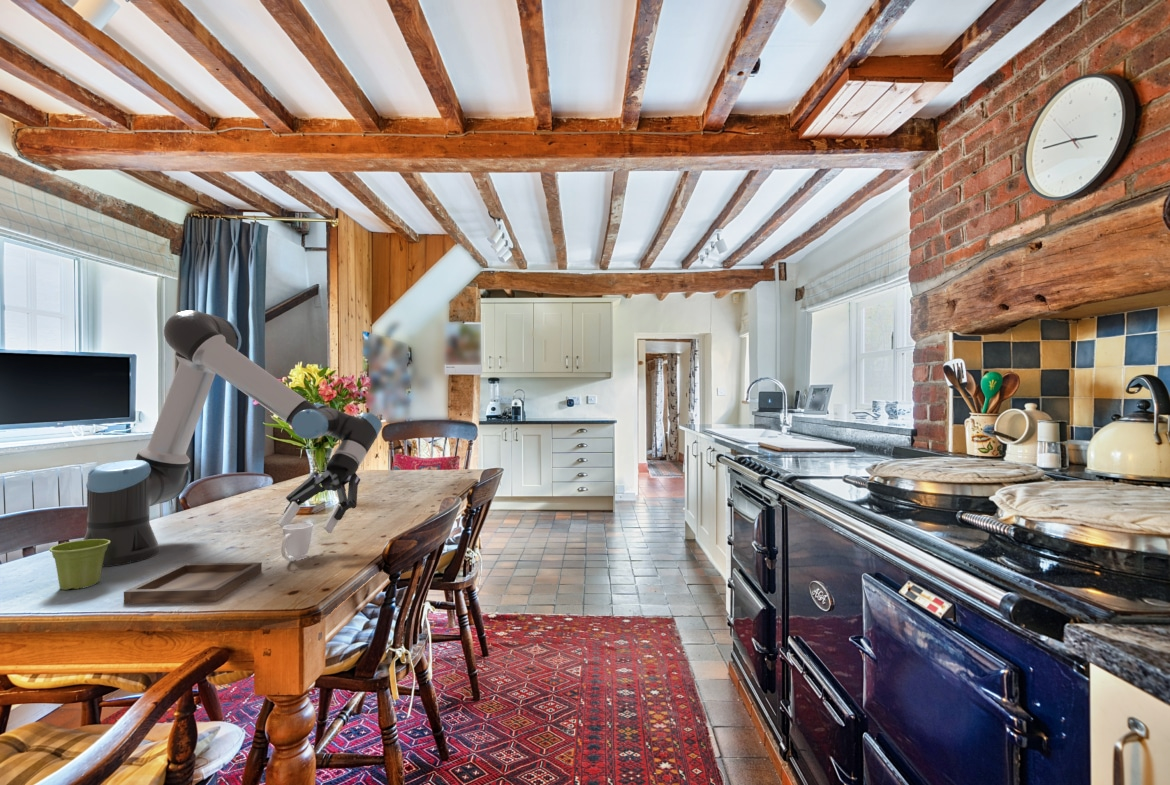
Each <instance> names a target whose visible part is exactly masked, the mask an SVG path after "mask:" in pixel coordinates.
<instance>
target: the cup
mask: <svg viewBox="0 0 1170 785" xmlns="http://www.w3.org/2000/svg"><path fill="white" fill-rule="evenodd" d="M313 527H314V523H311V522H295V523H294V522H293V523H290V524H289V525H285V526H284V527H283V528H282V534H283V539H282V541H281V548H280V552H281V556H282V559H283V558H284V560H286V561H288V562H295V561H294V560H296V561H302V560H301V559H303V560H305V559H304V558H306V559H307V558H308V556H309V555H308V552H309V549H310V545H311V541H312V533H313V529H314V528H313ZM286 553H287V554H286ZM287 555H288V556H287Z"/></svg>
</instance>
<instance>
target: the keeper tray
mask: <svg viewBox="0 0 1170 785" xmlns="http://www.w3.org/2000/svg"><path fill="white" fill-rule="evenodd" d="M262 562H263V561H262ZM262 562H258V561H257V562H215V563H214V562H209V563H206V562H205V563H204V562H203V563H199V562H198V563H182V564H180V565H177V566H175V567H174V568H171V569H169V570H167V571H165V572H163V573H161V574H159V575H156V576H154V577H153V578H150V579H148V580H145V581H144V582H142V583H140V584H137V585H135V586H133V587H131V588H129V589H127V590H125V591H123V604H127V605H128V604H161V603H164V604H168V603H169V604H170V603H205V602H206V603H209V602H211V603H213V602H218V600H221V599H222V598H224V597H225V596H227V595H228V594H229V593H231V592H233V591H235V590H236V589H237V588H239V587H241V586H242V585H244V584H246V583H248V582H249V581H250V580H252V579H254V578H255V577H256V576H258V575H260V574H262V573H263V572H262V567H263V566H262ZM253 577H254V578H253Z"/></svg>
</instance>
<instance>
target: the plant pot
mask: <svg viewBox="0 0 1170 785" xmlns="http://www.w3.org/2000/svg"><path fill="white" fill-rule="evenodd" d="M108 544H110V540H107V539H89V540H83V539H82V540H72V541H68V542H63V543H59V544H56V545H53V546H51V547H50V548H49V549H48V550H49V552H50V553H51V555H52V558H53V559H54V563H55V568H56V574H57V578H58V579H57V580H58V585H59V589H60V590H64V591H68V590H70V589H75V590H79V588H81V589H85V588H87V586H89V587H92V586H91V585H93V586H94V584H95V585H96V584H97V583H100V580H101V575H102V570H103V567H102V565H103V560H104V554H105V551H106V550H107V546H108ZM84 587H85V588H84Z"/></svg>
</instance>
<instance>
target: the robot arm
mask: <svg viewBox="0 0 1170 785" xmlns="http://www.w3.org/2000/svg"><path fill="white" fill-rule="evenodd" d="M241 335H242V334H241V332H240V330H239V328H238V327H237V326H236V325H235V324H234V323H233V322H231V321H229V320H227V319H226V318H223V317H221V316H217V315H214V314H209V313H205V312H202V311H198V310H183V311H179V312H175V313H174V314H172V315H171V316H170V317H169V318H168V319H167V321H166V322H165V325H164V328H163V336H164V340H165V341H166V343H167V345H168V346H170V347H171V349H172V350H174V351H175V354H174V356H175V358H176V359H177V362H178V363H179V364H178V366H177V369H176V371H175V373H174V376H173V380H172V382H171V385H170V388H169V389H168V392H167V395H166V397H165V400H164V403H163V406H162V409H161V411H160V414H159V415H158V419H157V422H156V423H155V427H154V430H153V432H152V435H151V437H150V439H149V443H148V445H147V446H145V447H143V448H142V449H139V450H138V451H137V454H136V457H135V459H132V460H130V459H129V460H119V461H115V462H106V463H103V464H99V465H97V466H95V467H93V468H91V469H90V471H89V472H88V474H87V482H86V484H85V485H86V486H85V487H86V512H87V513H86V523H87V524H86V533H85V535H84V537H83V539H82V540H89V539H107V540H110V544H108V546H107V550H106V551H105V554H104V560H103V565H102V568H103V567H111V566H118V565H119V566H120V565H125V564H129V563H134V562H138V561H142V560H145V559H148V558H151V557H153V556H156V555H158V552H159V542H158V539H157V538H156V535H155V532H154V531H153V528H152V525H151V522H150V513H151V510H150V508H151V507H153V506H156V505H159V504H162V503H163V504H164V503H167V502H170V501H172V500H174V499H175V498H177V497H179V496H180V495H181V494H182V495H183V493H184V492H185V491H186V490H187V488H188V486H189V485H190V482H191V478H192V477H191V476H192V475H191V471H190V470H189V465H190V462H191V459H190V457H189V456H188V455H187V451H188V449H189V446H190V443H191V441H192V439H193V435H194V433H195V430H196V428H197V424H198V422H199V419H200V417H201V414H202V411H203V409H204V406H205V403H206V401H207V398H208V395H209V392H210V390H211V388H212V384H213V383H214V379H215V376H216V375H217V376H219V377H220V378H222V379H223V380H225V381H226V382H228V383H229V384H231V385H232V386H233V387H235V388H236V389H237V390H239V391H241V392H242V393H243V394H245V395H246V396H248V397H249V398H251V399H252V400H253V401H255V402H256V403H258V404H259V405H261V407H263V408H265V409H266V410H267V411H269V412H271V413H272V414H274V415H275V416H276V417H278V418H279V419H280V420H282V421H283V422H285V423H286V424H288V425H289V426H290V427H291V428H292V431H293V432H294V434H295V435H296V436H298V437H299V438H301V439H307V440H311V439H313V440H314V439H319V438H320V437H324V436H329V437H332V438H335V439H338V440H340V444H339V445H338V446H337V448H336V449H335V451H334V453H333V455H332V456H331V457H330V458H329V460H328V462H327V464H326V466H325V468H326V469H325V471H324V472H323V473H319V472H318V471H317V470H316V471H315V470H314V471H313V472H312V474H311V475H310V476H309V477H308V478H306V480H305V481H304V482H302V483H301V484H300V485H299V486H298V487H296V488H295V489H294V490H293V491H292V492H290V493H289V494H288V495H287V496H285V499H286V500H287V501H288V502H289V503H288V505H287V506H286V508H285V510H284V511H283V513H284V514H283V515H282V516H281V518H280V519H279V521H278V522H277V524H278V525H279V526H280V527H281V528H282V529H283V527H284V526H285V525H289V524H292V521H294V518H295V517H296V515H297V514H298V512H299V511H300V509H301V506H300V505H302V504H304V503H305V502H307V501H308V500H310V499H312V498H314V497H315V496H316V495H318V494H319V493H324V492H325V491H328V492H329V491H333V492H337V497H338V504H335V506H334V508H333V510H332V511H331V512H330V515H329V516H328V517H327V520H325V523H324V525H323V526H322V528H323V529H324V530H325V531H326V533H328V534H332V533H333V530H334V529H335V528H336V526H337V524H338V523H339V521H341V520H342V518H343V517H344V515H345V514H346V512H347V511H348V510H349V509H356V508H357V503H358V502H357V501H358V489H359V488H358V487H359V483H360V482H361V478H360V476H358V475H357V471H358V470H359V467H360V465H361V464H362V462H363V460H364V459H365V458H366V455H367V454H368V452H369V450H370V449H371V448H372V446H373V445H374V443H375V441H376V439H377V438H378V436H379V434H380V431H381V430H382V427H383V423H382V421H381V419H380V418H379V417H378V416H377V415H375V414H373V413H372V412H365V411H364V412H361V413H359V414H358V415H357V416H355V415H351V414H348V413H345V412H343V411H341V410H338V409H335V408H333V407H331V406H329V405H327V404H326V405H325V404H322V403H320V402H314V403H311V402H310V401H309V400H308V399H306V398H305V397H303V396H302V395H301V394H299V393H297V392H296V391H294V390H293V389H291V388H290V387H289V386H288V385H286V384H285V383H284V382H282V381H281V380H279V379H278V378H277V377H275V376H274V375H272V374H271V373H269V372H268V371H267V370H266V369H264V368H263V367H261V366H260V365H258V364H257V363H255V362H254V361H252V360H251V359H250V358H249V357H247V356H246V355H244V354H243V353H242V352H240V349H241V346H242V336H241ZM320 484H321V485H320ZM347 484H348V488H347V489H348V491H347V492H346V486H345V485H347Z"/></svg>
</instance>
